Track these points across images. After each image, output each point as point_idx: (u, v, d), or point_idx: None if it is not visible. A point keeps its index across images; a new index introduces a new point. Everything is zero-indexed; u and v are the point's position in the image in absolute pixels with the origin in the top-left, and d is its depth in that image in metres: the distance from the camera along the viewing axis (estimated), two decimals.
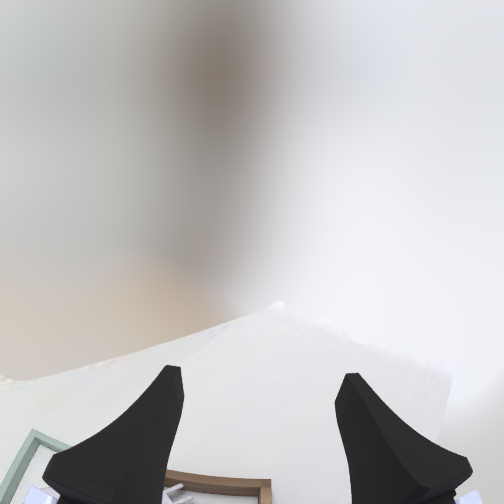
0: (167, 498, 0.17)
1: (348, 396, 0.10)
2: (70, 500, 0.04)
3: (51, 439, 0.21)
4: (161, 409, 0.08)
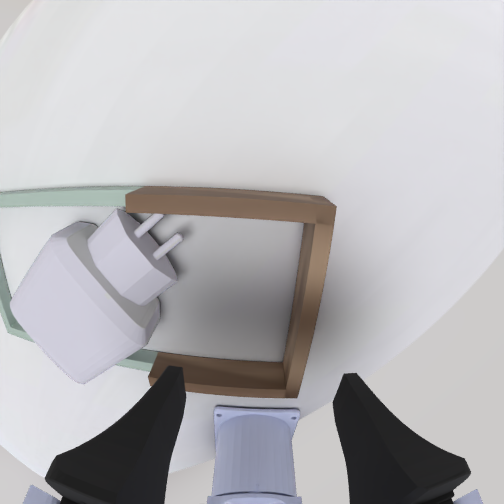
0: (141, 256, 0.15)
1: (346, 396, 0.10)
2: (73, 501, 0.04)
3: None
4: (164, 410, 0.08)
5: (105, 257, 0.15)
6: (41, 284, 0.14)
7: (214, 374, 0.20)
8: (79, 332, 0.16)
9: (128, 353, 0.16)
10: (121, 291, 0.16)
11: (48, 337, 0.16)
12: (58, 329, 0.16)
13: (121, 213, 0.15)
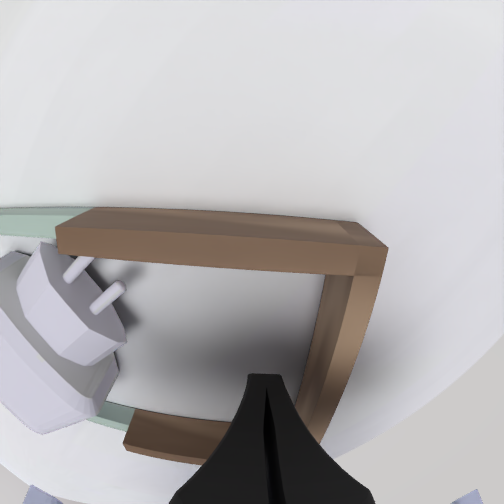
0: (71, 313, 0.09)
1: None
2: None
3: None
4: (263, 419, 0.08)
5: (32, 308, 0.09)
6: None
7: (203, 442, 0.14)
8: (22, 390, 0.10)
9: (79, 420, 0.11)
10: (58, 351, 0.10)
11: None
12: (2, 381, 0.10)
13: (46, 248, 0.09)
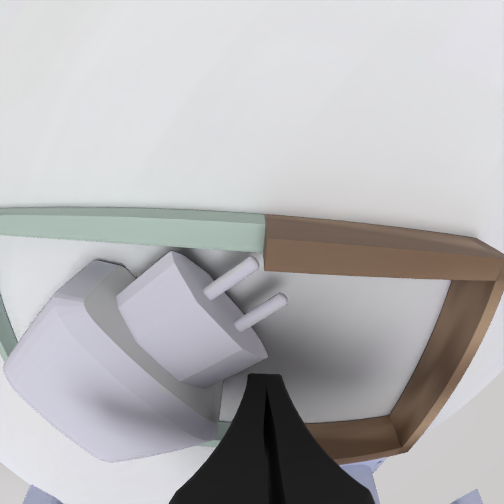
0: (221, 334, 0.09)
1: None
2: None
3: None
4: (263, 419, 0.08)
5: (154, 331, 0.09)
6: (46, 363, 0.09)
7: (324, 445, 0.14)
8: (113, 424, 0.10)
9: (189, 446, 0.11)
10: (180, 377, 0.10)
11: (64, 419, 0.10)
12: (79, 416, 0.10)
13: (179, 259, 0.10)
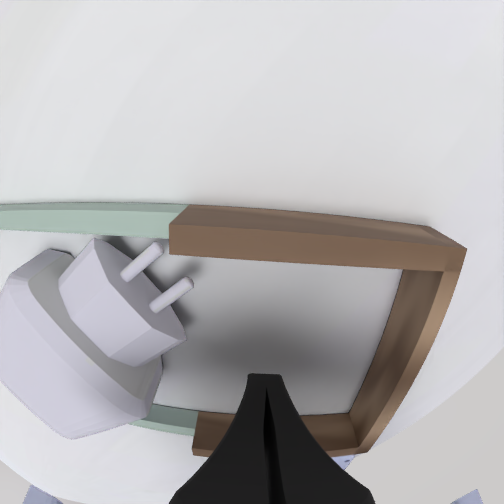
0: (132, 312, 0.10)
1: None
2: None
3: None
4: (263, 419, 0.08)
5: (82, 309, 0.10)
6: (6, 337, 0.09)
7: None
8: (60, 396, 0.10)
9: (125, 423, 0.11)
10: (108, 353, 0.11)
11: (26, 393, 0.11)
12: (35, 388, 0.10)
13: (100, 245, 0.10)
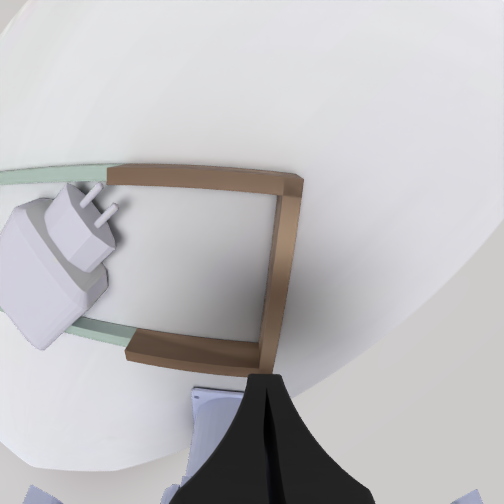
0: (82, 224, 0.15)
1: None
2: None
3: None
4: (263, 419, 0.08)
5: (55, 226, 0.15)
6: (5, 252, 0.15)
7: (189, 350, 0.20)
8: (34, 295, 0.16)
9: (73, 316, 0.17)
10: (68, 257, 0.16)
11: (11, 302, 0.16)
12: (18, 293, 0.16)
13: (70, 187, 0.16)
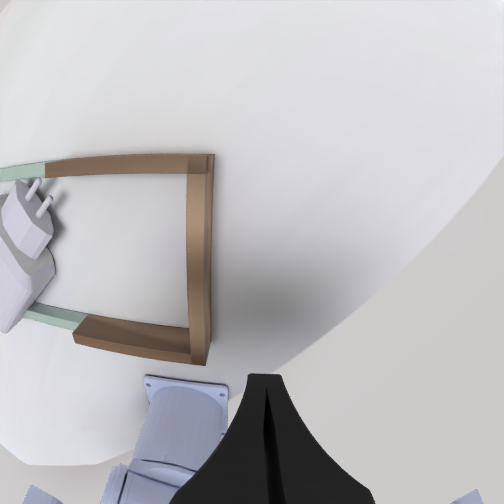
0: (25, 214, 0.15)
1: None
2: None
3: None
4: (263, 419, 0.08)
5: (7, 217, 0.15)
6: None
7: (128, 335, 0.20)
8: None
9: (22, 298, 0.16)
10: (17, 245, 0.16)
11: None
12: None
13: (19, 183, 0.15)
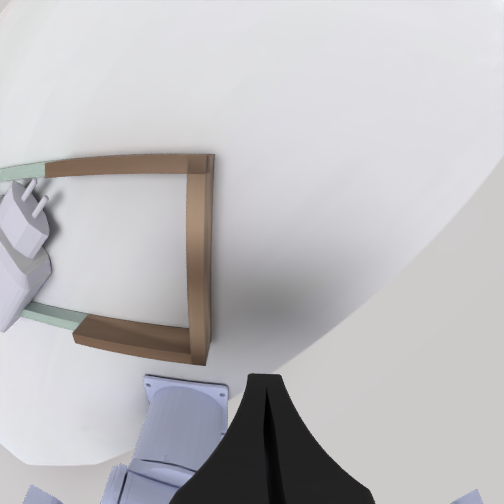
0: (21, 215, 0.15)
1: None
2: None
3: None
4: (263, 419, 0.08)
5: (4, 218, 0.15)
6: None
7: (128, 335, 0.20)
8: None
9: (19, 298, 0.17)
10: (13, 244, 0.16)
11: None
12: None
13: (15, 184, 0.15)
